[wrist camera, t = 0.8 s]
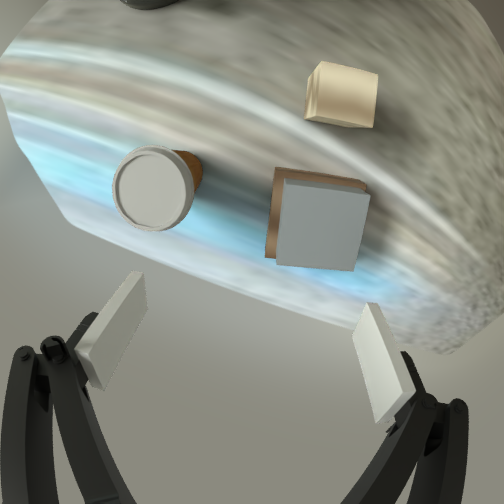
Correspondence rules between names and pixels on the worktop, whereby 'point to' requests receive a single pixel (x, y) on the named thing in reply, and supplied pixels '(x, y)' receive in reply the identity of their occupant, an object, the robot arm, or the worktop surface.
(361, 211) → the top slab
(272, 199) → the base slab
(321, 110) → the birch block
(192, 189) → the disposable coffee cup
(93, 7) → the worktop surface
